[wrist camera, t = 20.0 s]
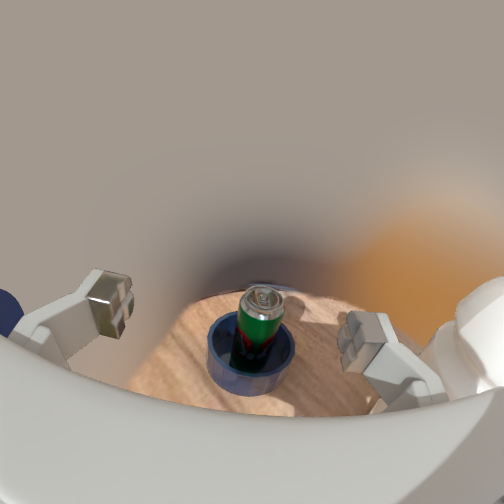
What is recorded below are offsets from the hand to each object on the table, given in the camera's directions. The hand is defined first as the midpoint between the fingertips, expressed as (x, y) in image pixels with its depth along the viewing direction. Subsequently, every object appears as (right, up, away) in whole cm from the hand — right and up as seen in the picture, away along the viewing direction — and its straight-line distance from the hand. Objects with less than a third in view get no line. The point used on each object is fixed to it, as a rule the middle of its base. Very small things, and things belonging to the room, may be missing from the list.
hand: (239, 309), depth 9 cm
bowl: (0, -13, +26) cm, 29 cm away
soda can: (0, -13, +26) cm, 29 cm away
